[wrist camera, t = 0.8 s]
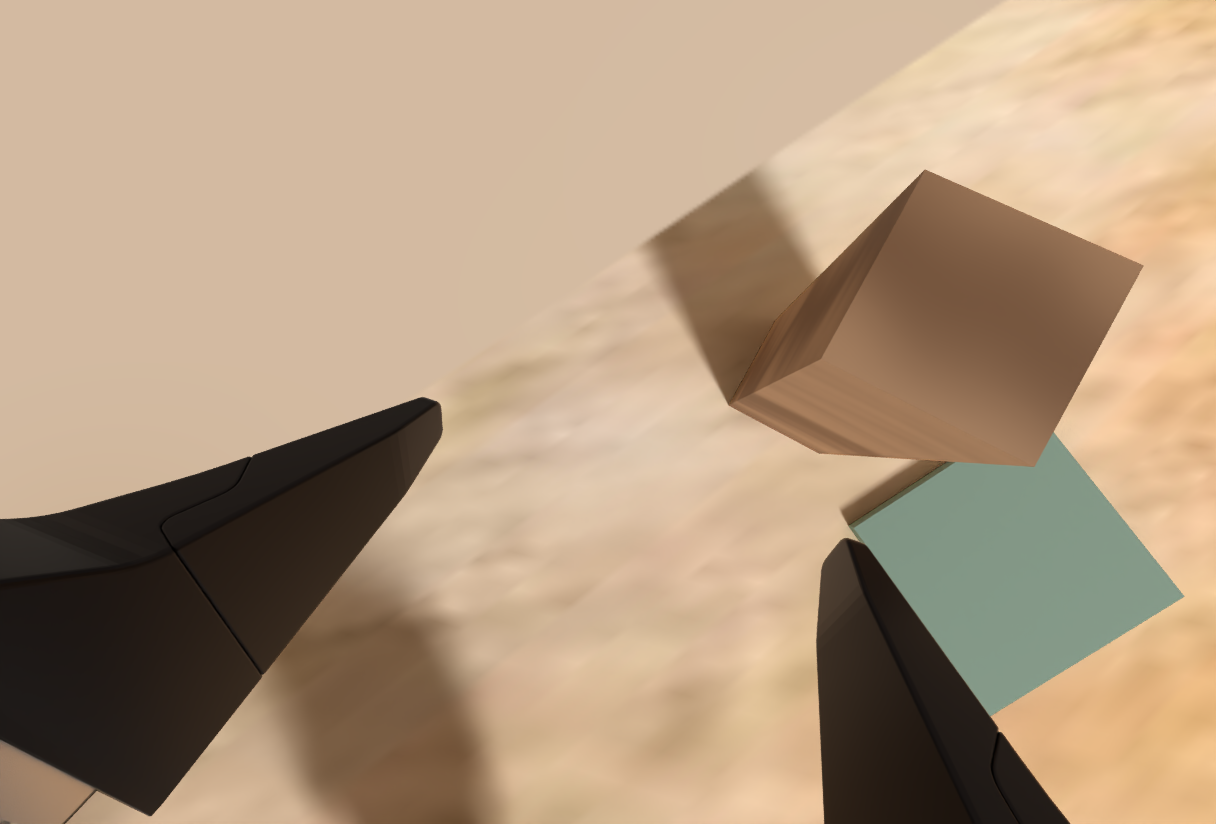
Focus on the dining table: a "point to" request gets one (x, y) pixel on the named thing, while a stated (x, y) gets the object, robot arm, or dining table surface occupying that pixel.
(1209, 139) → the dining table surface
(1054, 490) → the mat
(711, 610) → the dining table surface
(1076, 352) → the letter block
